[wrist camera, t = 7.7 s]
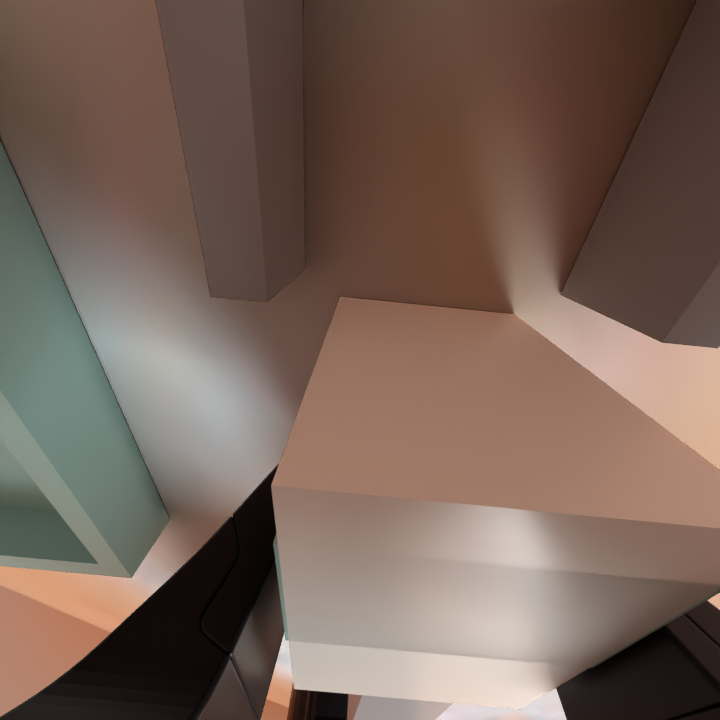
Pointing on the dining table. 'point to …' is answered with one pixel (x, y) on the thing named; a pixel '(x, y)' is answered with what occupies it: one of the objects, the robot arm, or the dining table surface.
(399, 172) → the dining table surface
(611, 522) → the teal striped block
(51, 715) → the robot arm
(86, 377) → the tray
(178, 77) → the bay
